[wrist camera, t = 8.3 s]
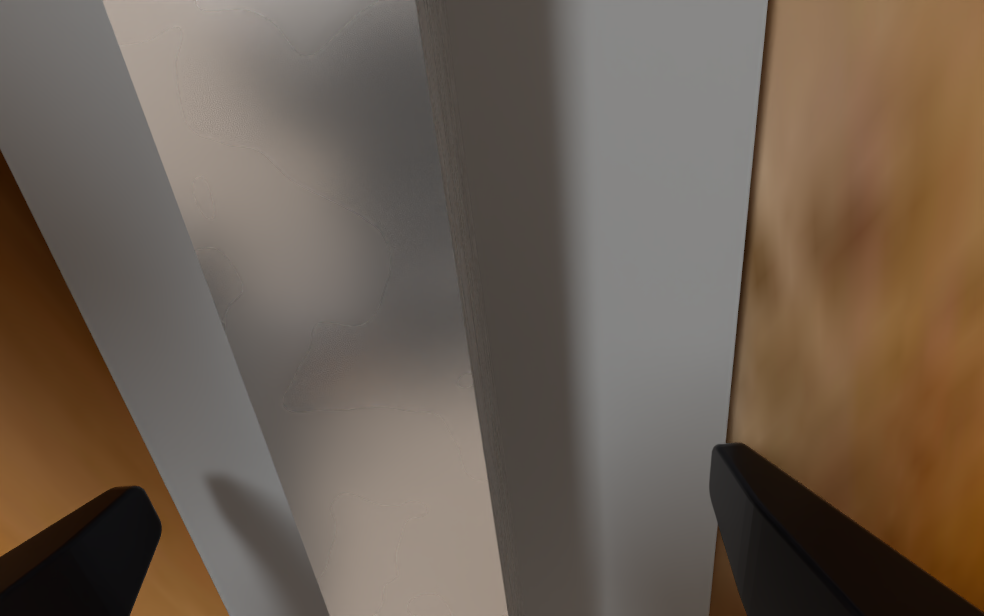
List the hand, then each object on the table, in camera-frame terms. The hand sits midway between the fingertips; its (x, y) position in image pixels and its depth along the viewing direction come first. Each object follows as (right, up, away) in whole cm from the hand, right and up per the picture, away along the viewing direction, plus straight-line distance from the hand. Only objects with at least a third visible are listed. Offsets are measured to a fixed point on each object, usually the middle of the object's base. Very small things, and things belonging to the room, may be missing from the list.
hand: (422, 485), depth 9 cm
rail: (0, +1, +1) cm, 1 cm away
